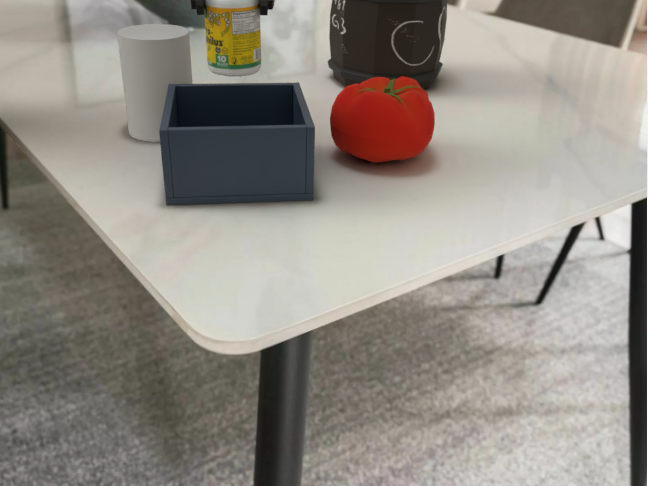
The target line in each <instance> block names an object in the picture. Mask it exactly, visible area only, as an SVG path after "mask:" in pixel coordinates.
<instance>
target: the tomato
mask: <svg viewBox="0 0 648 486" xmlns="http://www.w3.org/2000/svg"><path fill="white" fill-rule="evenodd" d="M428 93H429V92H427V91H426V90H423V89H422V88H421V87H420V85H419V84H418V82H417V81H416V80H414V79H411V78H408V77H404V76H401V77H399V78H397V79H392V80H390V79H389V78H385V77H374V78H370V79H368V80H366V81H364V82H361V83H360V84H358V83H357V84H353V85H349V86H346V87H345V86H344V87H343V89H342V90H341V91H340V92H339V93H338V94H337V95H336V96H335V99H334V102H333V103H332V105H331V110H330V116H329V125H330V136H331V139H332V140H333V144H334V145H335V146H336V147H337V148H338V149H339V150H340V151H342V152H344V153H347V154H348V155H352V156H354V157H355V158H358V159H361V160H365V161H367V162H369V163H372V164H376V163H378V164H379V163H385V162H391V161H405V160H409V159H411V158H414V157H416V156H418V155H420V154H421V153H423V152H424V151H425V150H426V148H427V147H428V146H429V145H430V142H431V141H432V139H433V135H434V131H435V126H436V124H435V123H436V121H435V109H434V107H433V104H432V102H431V100H430V98H429V94H428Z"/></svg>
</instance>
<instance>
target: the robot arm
mask: <svg viewBox="0 0 648 486" xmlns="http://www.w3.org/2000/svg"><path fill="white" fill-rule="evenodd" d="M259 1H260V16H268V15H269V14H268V12H269V10H270V11H271V10H273V9H274V7H275V0H259ZM188 5H189V7H190V10H196V16H205V15H204V0H188Z"/></svg>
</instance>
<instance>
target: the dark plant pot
mask: <svg viewBox="0 0 648 486" xmlns="http://www.w3.org/2000/svg"><path fill="white" fill-rule="evenodd" d="M447 19H448V0H331V6H330V14H329V35H328V36H329V37H328V39H329V51H330V52H329V53H330V58H329V59H328V60H327V65H328V68H329V69H330V70H332V74H333V78H334V79H335V80H336V81H338V82H339V84H341V85H342V86H344V88H345V87H346V86H349V85H353V84H357V83H358V84H360V83H361V82H364V81H366V80H368V79H370V78H374V77H385V78H389V79H390V80H392V79H397V78H399V77H401V76H404V77H408V78H411V79H414V80H416V81H417V82H418V84H419V85H420V87H421V88H422V89H423V90H424V91H426V90H429V89H430V87H431V86H432V84H433V82H434V81H435V80H437V77H438V76H439V74H440V72H441V70H442V67H443V65H444V64H443V62H441V61H440V60H441V57H442V56H441V55H442V51H443V47H444V44H445V39H446V38H445V36H446V29H447Z"/></svg>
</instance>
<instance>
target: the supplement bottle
mask: <svg viewBox="0 0 648 486" xmlns="http://www.w3.org/2000/svg"><path fill="white" fill-rule="evenodd" d="M203 16H204V29H205V45H206V60H207V61H206V62H207V68H208V70H209V71H210V72H211V73H212V74H215V75H218V76H224V77H247V76H251V75H255V74H256V73H258V72H259V71H260V70H261V68H262V42H261V41H262V37H261V15H260V1H259V0H204V15H203Z"/></svg>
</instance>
